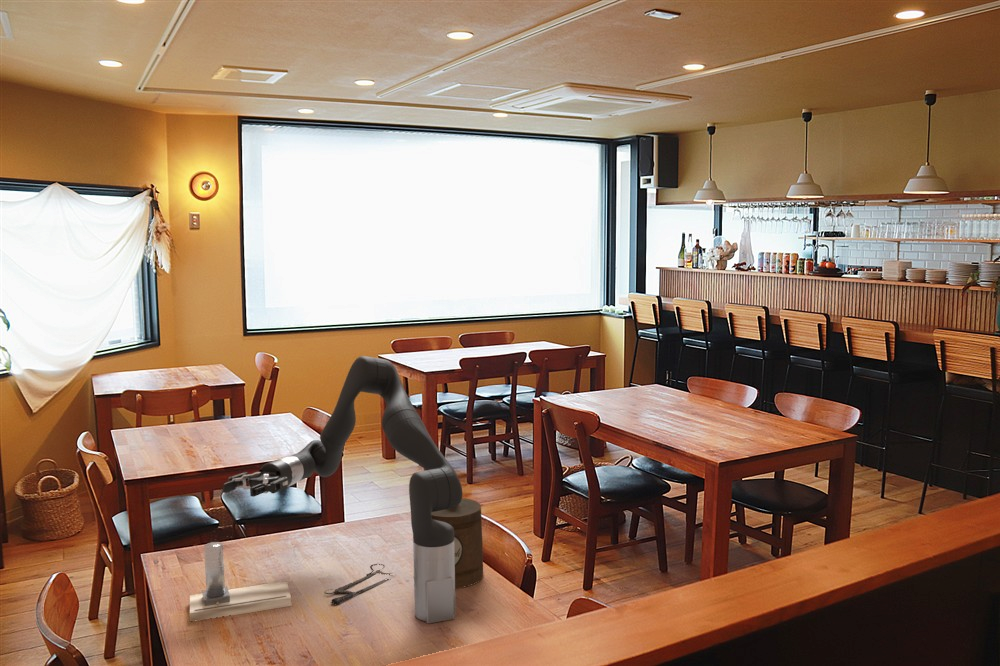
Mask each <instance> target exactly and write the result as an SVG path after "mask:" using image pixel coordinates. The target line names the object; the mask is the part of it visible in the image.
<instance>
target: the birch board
mask: <svg viewBox="0 0 1000 666" xmlns="http://www.w3.org/2000/svg"><path fill="white" fill-rule="evenodd" d="M228 591H229V595H230V602H226V603H221V604H219V605H217V604H215V605H209V606H205V605H204V601H203V593H196V594H190V595H189V619H190V621H193V622H196V621H195V620H199V621H204V620H203V619H206V620H210V619H209V618H212V619H217V618H216V617H218V618H222V616H224V617H229V615H231V616H236V615H241V614H248V613H255V612H256V613H257V612H261V611H262V612H263V611H268V610H273V609H274V610H275V609H280V608H286V607H292V596H291V592H290V588H289V585H288V582H287V580H284V581H277V582H270V583H264V584H257V585H250V586H244V587H237V588H231V589H230V588H229V589H228ZM190 621H189V622H190Z"/></svg>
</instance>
